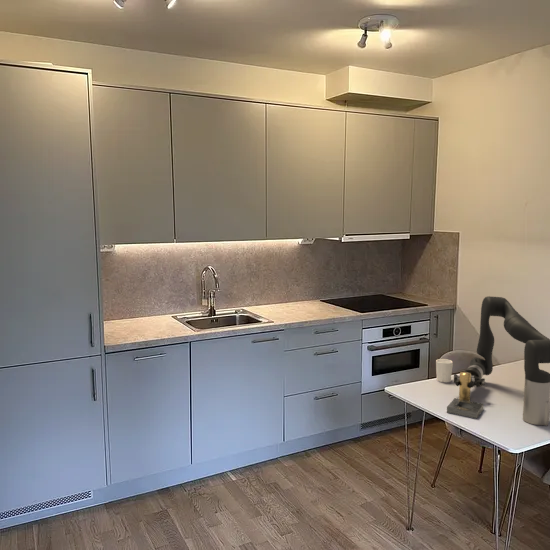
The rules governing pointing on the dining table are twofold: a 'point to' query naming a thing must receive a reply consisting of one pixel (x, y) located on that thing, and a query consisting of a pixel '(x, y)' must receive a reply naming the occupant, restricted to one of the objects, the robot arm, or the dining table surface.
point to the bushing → (464, 386)
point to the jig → (465, 408)
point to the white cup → (443, 370)
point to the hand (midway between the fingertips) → (463, 384)
